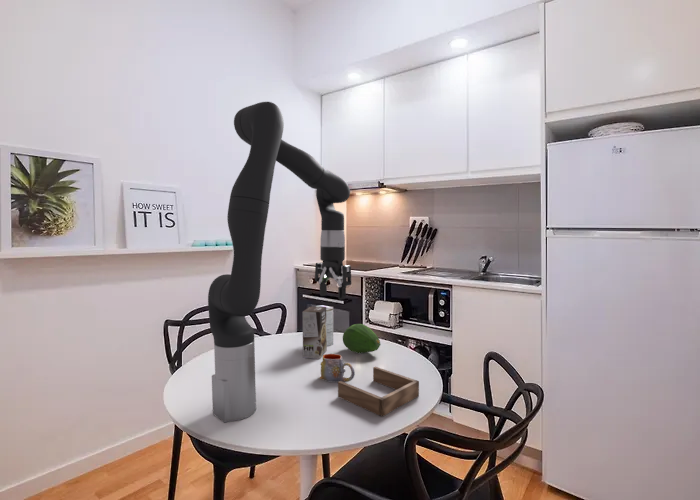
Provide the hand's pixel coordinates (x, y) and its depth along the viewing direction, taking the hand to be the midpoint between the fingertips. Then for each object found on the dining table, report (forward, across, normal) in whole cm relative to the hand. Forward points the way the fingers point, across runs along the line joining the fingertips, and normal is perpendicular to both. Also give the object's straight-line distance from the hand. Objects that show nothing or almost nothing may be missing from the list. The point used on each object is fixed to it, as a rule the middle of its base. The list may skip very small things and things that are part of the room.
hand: (332, 297), depth 117 cm
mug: (+23, +8, -4) cm, 25 cm away
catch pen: (+23, +24, -4) cm, 33 cm away
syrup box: (+22, -21, +14) cm, 34 cm away
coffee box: (+23, -15, +5) cm, 28 cm away
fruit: (+22, -4, +17) cm, 29 cm away
